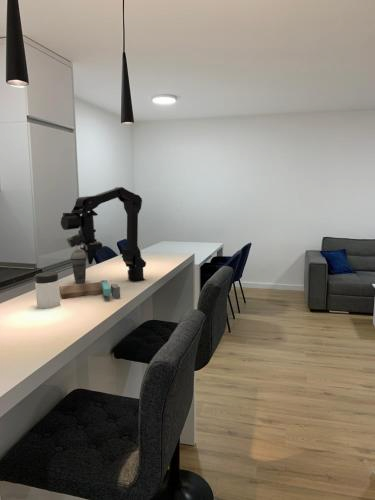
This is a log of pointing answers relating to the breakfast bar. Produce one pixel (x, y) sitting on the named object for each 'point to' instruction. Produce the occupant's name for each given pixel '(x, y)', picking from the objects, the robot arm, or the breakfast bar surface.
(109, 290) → the leg
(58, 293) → the jar
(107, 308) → the breakfast bar surface
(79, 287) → the board
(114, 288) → the post
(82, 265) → the beverage cup
